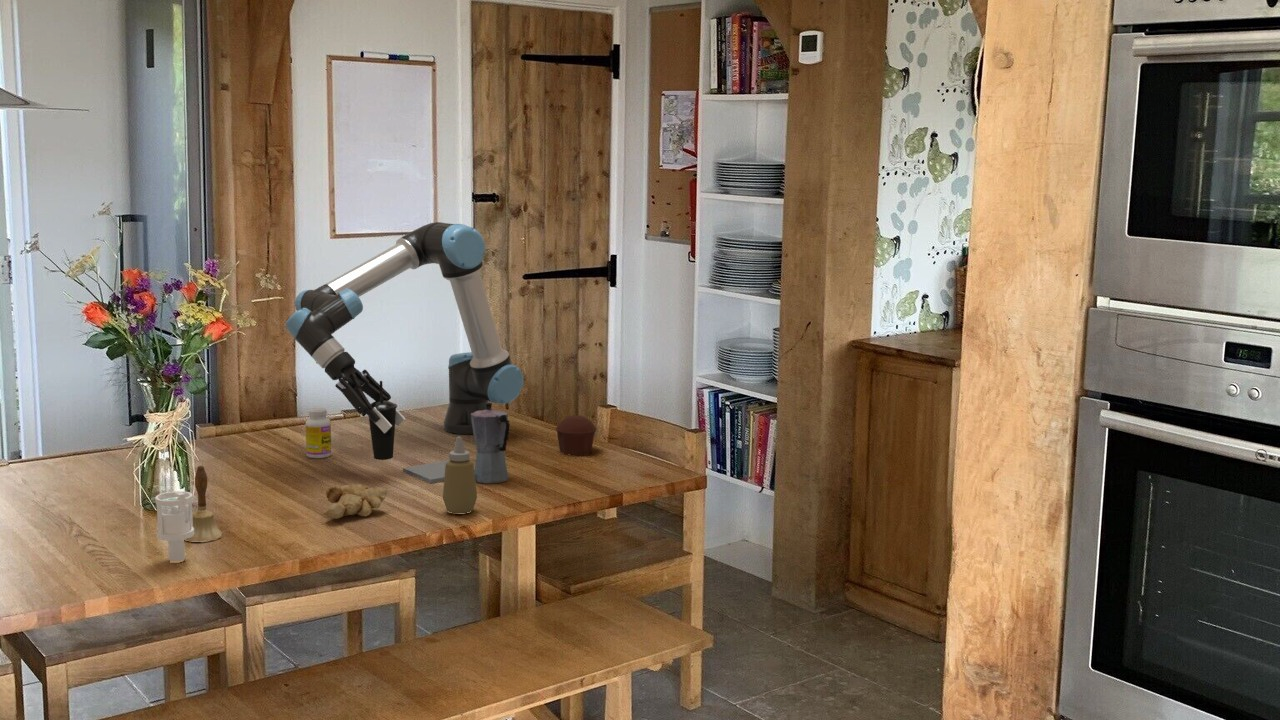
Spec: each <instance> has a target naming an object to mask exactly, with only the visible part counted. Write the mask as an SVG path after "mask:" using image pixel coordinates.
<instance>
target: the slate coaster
mask: <svg viewBox="0 0 1280 720" xmlns="http://www.w3.org/2000/svg"><path fill="white" fill-rule="evenodd" d="M449 460H450V459H446V460H445V459H444V460H441V461H434V462H430V463H425V464H424V463H423V464H419V465H413V466H406V467H403V468H402V472H403V473H405V474H407V475H409V474H410V476H412V477H414V478H416V479H418V480H421V479H422V481H424V480H425V481H424V482H426V481H427V482H426V483H428V482H429V483H428V484H435V483H434V482H436V483H439V482H438V481H441V482H444V481H443V480H444V476H445V465H446V462H448V461H449ZM474 474H475V469H474Z"/></svg>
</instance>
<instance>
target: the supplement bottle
mask: <svg viewBox="0 0 1280 720" xmlns="http://www.w3.org/2000/svg"><path fill="white" fill-rule="evenodd" d="M327 414H328V410H327V409H326V408H323V407H322V408H321V407H316V408H310V409H309V410H308V415H309V418H307V419H306V421H305V446H306V447H305V452H306V453H305V454H306V457H308V458H311V459H325V458H329V457H330V456H331V455H332V430H331V429H332V428H331V427H332V425H331V423H332V422H331V420H330V419H329V418H327Z"/></svg>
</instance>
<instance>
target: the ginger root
mask: <svg viewBox="0 0 1280 720" xmlns="http://www.w3.org/2000/svg"><path fill="white" fill-rule="evenodd" d="M387 494H388V489H387V487H386V488H385V487H378V486H377V487H374V486H373V487H369V486H368V485H364V484H360V483H352V484H345V485H342V486H339V485H335V484H334V485H331V486H328V487H327V490H326V492H325V495H326V499H327V501H328V502H329V503H331V504H330V505H329V506H328V507H327V508H326V509H325V510H324V511H323V515H324V516H325V517H328V518H331V519H334V520H336V519H341V518H342V517H346V516H347V517H348V515H351V516H354V515H356V514H357V515H359V516H361V517H364V516H365V517H369V516H370V515H371V514H372V513H373V511H372V510H373V509H375V510H376V509H379V508H380V507H381V506H382V502H383V501H384V500H386V497H387Z"/></svg>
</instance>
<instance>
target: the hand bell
mask: <svg viewBox="0 0 1280 720" xmlns="http://www.w3.org/2000/svg"><path fill="white" fill-rule="evenodd" d="M194 484H195V485H194V486H195V490H196V492H197V510H196V511H194V512H192V518H193V527H194V535H193V536H192V537H190V538H187V539H186V540H189V541H204V540H210V539H215V538H218V537H220V536H221V535H222V533H223V532H222V530H220V529H219V528H218V527H217V524H216V521H215V518H214V513H213V512H212V511H211V510H208V509H207V497H206V494H207V489H208V475H207V472H206V470H205V466H204V465H197V467H196V472H195V475H194Z"/></svg>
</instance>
